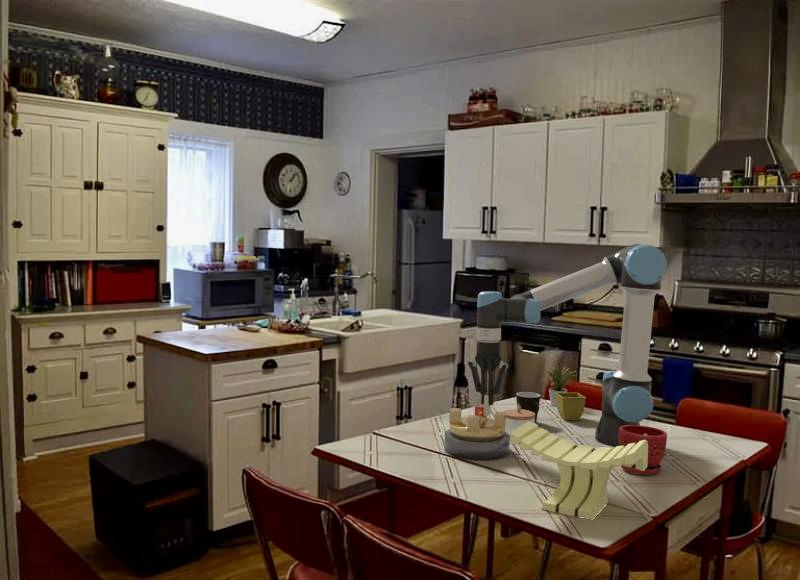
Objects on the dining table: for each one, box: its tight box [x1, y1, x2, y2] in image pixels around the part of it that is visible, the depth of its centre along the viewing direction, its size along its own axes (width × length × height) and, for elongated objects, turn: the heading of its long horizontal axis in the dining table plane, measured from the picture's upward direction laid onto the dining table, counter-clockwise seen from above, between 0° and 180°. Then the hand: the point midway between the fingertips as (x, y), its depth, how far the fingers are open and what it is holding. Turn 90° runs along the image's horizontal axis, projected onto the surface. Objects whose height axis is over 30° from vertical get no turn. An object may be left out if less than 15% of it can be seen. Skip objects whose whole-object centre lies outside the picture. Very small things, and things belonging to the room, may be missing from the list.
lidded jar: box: [502, 408, 535, 436], centre depth 244 cm, size 11×11×9 cm
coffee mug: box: [515, 391, 541, 424], centre depth 260 cm, size 12×9×10 cm
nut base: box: [443, 428, 510, 462], centre depth 226 cm, size 20×20×5 cm
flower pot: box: [556, 392, 587, 421], centre depth 268 cm, size 9×9×9 cm
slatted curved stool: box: [510, 422, 648, 519], centre depth 182 cm, size 30×16×18 cm, turn 59°
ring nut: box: [448, 404, 506, 442], centre depth 225 cm, size 17×17×7 cm
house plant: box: [543, 364, 577, 407], centre depth 288 cm, size 14×14×16 cm
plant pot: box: [618, 424, 668, 476], centre depth 210 cm, size 13×13×12 cm
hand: (487, 414), depth 231 cm, fingers closed
